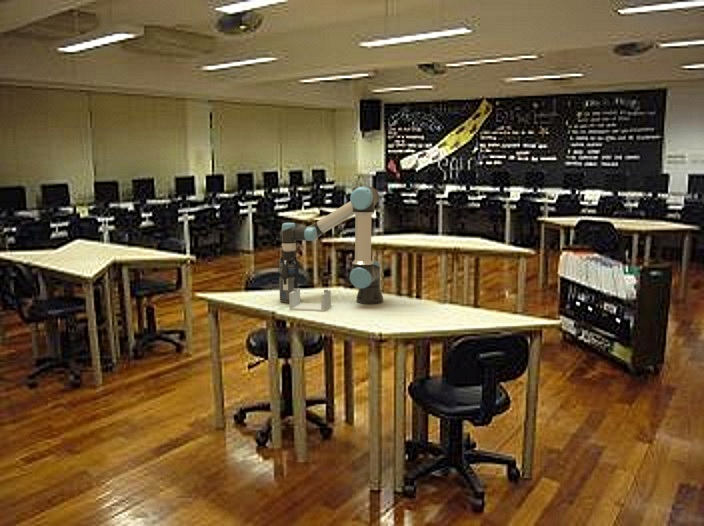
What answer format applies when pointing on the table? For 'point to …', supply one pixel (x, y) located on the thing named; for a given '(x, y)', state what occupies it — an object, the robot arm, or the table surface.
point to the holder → (296, 305)
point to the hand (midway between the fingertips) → (289, 287)
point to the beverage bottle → (291, 279)
